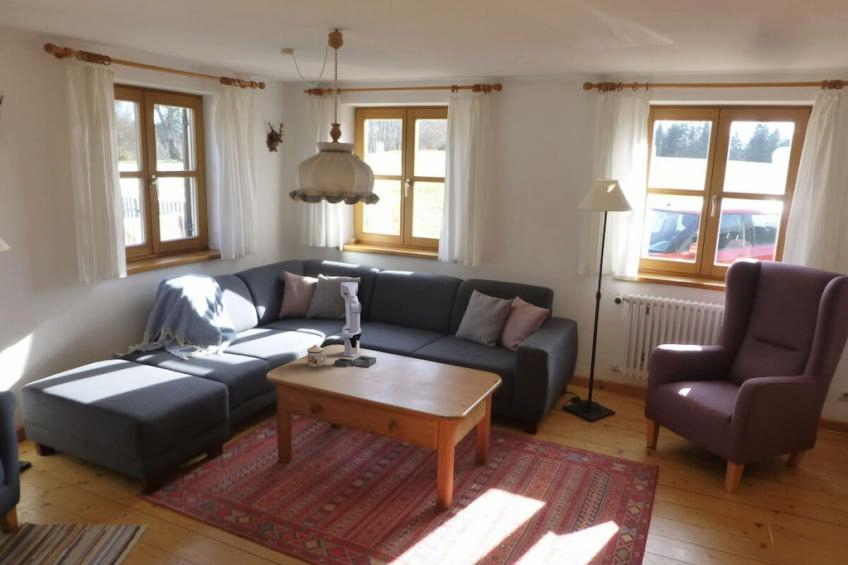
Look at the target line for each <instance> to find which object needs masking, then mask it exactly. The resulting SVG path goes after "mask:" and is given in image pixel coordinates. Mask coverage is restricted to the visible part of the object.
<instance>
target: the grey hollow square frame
mask: <svg viewBox="0 0 848 565" xmlns="http://www.w3.org/2000/svg"><path fill="white" fill-rule="evenodd" d="M353 360H354V359H351V358H345V357H339V358H338V359H335V360H334V361H333V362H334V364H333V365H334V366H336V367H337V366H338V367H342V366H343V368H347V367H350V366H351V365H353ZM349 365H350V366H349Z"/></svg>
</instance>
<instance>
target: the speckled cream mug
mask: <svg viewBox="0 0 848 565" xmlns="http://www.w3.org/2000/svg"><path fill="white" fill-rule="evenodd" d="M326 361H327V355H326V354H325V353H324V349H323V348H322V347H320V346H318V344H313V345H312V347H309V348H307V365H308V366H309V367H315V368H316V367H317V368H318V367H321V366H323V365H324V362H326Z"/></svg>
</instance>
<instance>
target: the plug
mask: <svg viewBox="0 0 848 565" xmlns="http://www.w3.org/2000/svg"><path fill="white" fill-rule="evenodd" d="M359 352H360V340H359V341H357V342H356V348H352V346H351V342H350V353H353V354H358V353H359ZM359 354H360V353H359ZM359 354H358V355H359Z"/></svg>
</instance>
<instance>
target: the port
mask: <svg viewBox="0 0 848 565" xmlns="http://www.w3.org/2000/svg"><path fill="white" fill-rule="evenodd" d="M376 363H377V357H376V356H375V357H374V356H368V355H358V357H356V358H354V359H353V364H352V366H356V367H362V368H368V369H369V368H370V367H371V366H373V365H375V364H376Z"/></svg>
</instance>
